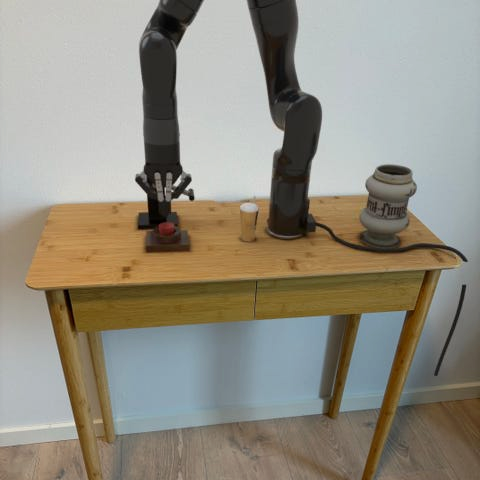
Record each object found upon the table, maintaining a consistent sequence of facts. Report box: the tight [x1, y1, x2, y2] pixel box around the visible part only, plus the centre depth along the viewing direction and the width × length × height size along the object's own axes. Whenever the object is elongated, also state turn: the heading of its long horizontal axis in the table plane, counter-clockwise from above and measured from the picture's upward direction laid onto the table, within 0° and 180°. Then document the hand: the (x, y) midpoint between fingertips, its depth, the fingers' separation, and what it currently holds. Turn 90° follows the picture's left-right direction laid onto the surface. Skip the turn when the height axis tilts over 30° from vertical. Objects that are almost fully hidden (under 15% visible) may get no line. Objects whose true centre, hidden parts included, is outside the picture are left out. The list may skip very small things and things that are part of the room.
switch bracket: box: [137, 176, 179, 230], centre depth 124 cm, size 10×8×13 cm
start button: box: [159, 222, 175, 235], centre depth 116 cm, size 4×4×2 cm
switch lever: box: [165, 184, 196, 202], centre depth 123 cm, size 12×5×2 cm, turn 97°
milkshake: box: [239, 195, 260, 242], centre depth 120 cm, size 4×5×10 cm
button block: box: [145, 226, 190, 253], centre depth 117 cm, size 10×8×4 cm
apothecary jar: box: [358, 163, 418, 248], centre depth 119 cm, size 12×12×18 cm
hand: (165, 215), depth 114 cm, fingers closed
